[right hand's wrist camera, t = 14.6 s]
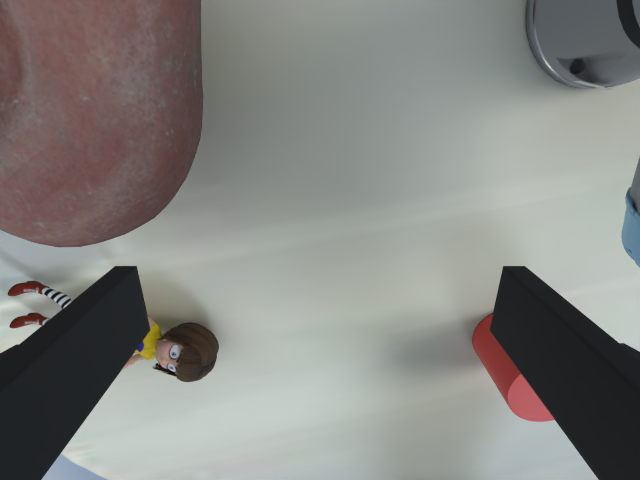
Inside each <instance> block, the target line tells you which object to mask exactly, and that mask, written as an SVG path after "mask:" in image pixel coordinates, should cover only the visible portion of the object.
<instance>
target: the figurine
mask: <svg viewBox="0 0 640 480" xmlns="http://www.w3.org/2000/svg"><path fill="white" fill-rule="evenodd" d="M28 292H36V293H37V294H38V293H40V294H45V295H46V296H48V297H49V298H51V299H53V300H54V301H56V302H57V303H58V304H59V305H60V306H61V307H62V309H64V308H65V307H66V306H67V305H68V304H70V303H71V302H72V301H71V299H70V298H69V297H68V296H67V295H65V294H64V293H61V292H59V291H56V290H53V289H50V288H49V287H47V286H44V285H42V284H41V283H39V282H37V281H28V282H27V283H20V284H16V285H14V286H13V287H12V288H11V289H10V290H9V292H8V295H9V296H16V295H19V294H23V293H28ZM147 316H148V314H147ZM49 320H50V319H49V318H46V317H43V316H42V315H41V314H39V313H29V314H28V315H27V316H21V317H17V318H15V319H14V320H13V321H12V322H11V324H10V328H18V327H22V326H25V325H29V324H38V325H44V324H45V323H46V322H48V321H49ZM148 321H149V325H150V332H149V333H148V334H147V336H146V337H145V339H144V340H143V341H142V343H141V344H140V345H139V347H138V348H137V349H136V351H135V353H139V354H136V355H134V356H131V358H130V359H129V360H128V362H127V363H126V365H125V366H124V367H123V369H125V368H126V367H128V366H130V365H132V364H134V363H135V362H136V361H138V360H142V359H147V360H150V359H152V358H154V357H156V359H157V361H158V362H159V363H160V364H158V363H157V364H155V366H156V367H157V366H158V367H159V368H158V367H157V368H156V367H155V366H154V367H155V369H157V370H162V371H164V372H166V374H169V375H173V376H177V379H179V380H181V381H183V382H184V381H185V382H192V381H197V380H199V379H201V378H203V377H204V376H206V375H207V374H208V373H209V372H210V371H211V370H212V369H213V367H214V365H215V362H216V358H217V352H218V349H219V344H218V341H217V339H216V337H215V336H214V334H213V333H212V332H211V331H210V330H208V329H207V328H205V327H203V326H201V325H199V324H196V323H183V324H182V325H181V324H180V325H179V326H176V327H174V330H173V328H171V330H169V331H167V332H165V333H166V334H165V335H164V336H162V334H161V330H160V328H159V326H158V324H157V323H156V322H154V321H153V320H152V319H151V318H150V317H149V316H148ZM174 332H175V333H174ZM163 339H165V340H167V339H168V341H166V342H165V341H164V340H163ZM123 369H122V370H123ZM122 370H121V371H122ZM164 372H163V373H164ZM167 372H168V373H167ZM178 377H179V378H178Z"/></svg>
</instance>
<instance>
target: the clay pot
mask: <svg viewBox="0 0 640 480" xmlns="http://www.w3.org/2000/svg"><path fill="white" fill-rule="evenodd" d="M202 110H203V89H202V66H201V0H0V230H2V231H4V232H7V233H9V234H12V235H14V236H17V237H20V238H23V239H25V240H28V241H31V242H34V243H39V244H44V245H49V246H55V247H81V246H86V245H90V244H95V243H99V242H103V241H106V240H109V239H112V238H115V237H118V236H121V235H124V234H126V233H128V232H130V231H132V230H134V229H136V228H138V227H139V226H141V225H143V224H145V223H146V222H148V221H150V220H152V219H153V218H155V217H156V216H157V215H158V214H159V213H160V212H161V211H162V210H163V209H164V208H165V207H166V206H167V205H168V204H169V202H170V201H171V200H172V199H173V197H174V196H175V194H176V193H177V191H178V190H179V188H180V187H181V185H182V184H183V182H184V180H185V179H186V177H187V175H188V172H189V170H190V167H191V165H192V162H193V160H194V157H195V154H196V150H197V147H198V144H199V141H200V135H201V127H202Z"/></svg>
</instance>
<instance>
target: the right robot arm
mask: <svg viewBox="0 0 640 480" xmlns="http://www.w3.org/2000/svg"><path fill="white" fill-rule="evenodd" d="M526 27H527V35H528V40H529V44H530V47H531V50H532V52H533V54H534V56H535V58H536V60H537V62H538V63H539V65H540V66H541V67H542V68H543V70H544V71H545V72H546V73H547V74H549V75H550V76H551V77H552V78H554V79H555V80H557V81H559V82H561V83H563V84H565V85H569V86H572V87H577V88H599V89H603V90H613V89H609V88H606V87H612V86H616V85H620V84H624V83H628V82H631V81H634V80H636V79H639V78H640V0H528V3H527V12H526ZM625 199H626V205H627V207H626V213H625V219H624V224H623V229H622V243H623V246H624V249H625V250H626V252H627V253H628V255H629V256H630V257H631V258H632V259H633V260H634V261H635V262H636V264H637V265H638V266H639V267H640V157H639V161H638V165H637V169H636V172H635V175H634V179H633V182H632V186H631V187H630V188H629V189H628V191H627V194H626V197H625ZM149 332H150V325H149V321H148V316H147V311H146V307H145V302H144V298H143V293H142V289H141V284H140V279H139V275H138V270H137V266H115V267H114V268H112V269H111V270H110V271H109V272H108V273H106V274H105V275H104V276H103V277H101V278H100V279H99V280H98V281H97V282H95V283H94V284H93V285H92V286H90V287H89V288H88V289H87V290H86V291H84V292H83V293H82V294H81V295H79V296H78V297H77V298H76V299H75V300H73V301H72V302H71V303H70V304H68V305H67V306H66V307H65V308H64V309H62V310H61V311H60V312H59V313H57V314H56V315H55V316H54V317H53V318H51V319H50V320H49V321H48V322H46V323H45V324H44V325H43V326H42V327H40V328H39V329H38V330H37V331H35V332H34V333H33V334H32V335H30V336H29V337H28V338H27V339H26V340H24V341H23V342H22V343H21V344H19V345H15V346H13V347H11V348H9V349H8V350H6V351H4V352H2V353H0V480H41V479H42V478H43V476H44V475H45V474H46V472H47V471H48V470H49V468H50V467H51V466H52V464H53V463H54V461H55V460H56V459H57V457H58V456H59V455H60V453H61V452H62V451H63V449H64V448H65V446H66V445H67V444H68V442H69V441H70V440H71V438H72V437H73V436H74V434H75V433H76V431H77V430H78V429H79V427H80V426H81V425H82V423H83V422H84V421H85V419H86V418H87V416H88V415H89V414H90V412H91V411H92V410H93V408H94V407H95V406H96V404H97V403H98V401H99V400H100V399H101V397H102V396H103V395H104V393H105V392H106V390H107V389H108V388H109V386H110V385H111V384H112V382H113V381H114V380H115V378H116V377H117V375H118V374H119V373H120V371H121V370H122V369H123V367H124V366H125V365H126V363H127V362H128V360H129V359H130V358H131V356H132V355H133V354H134V352H135V351H136V349H137V348H138V347H139V345H140V344H141V343H142V341H143V340H144V339H145V337H146V336H147V334H148V333H149ZM490 332H491V333H492V334H493V336H494V337H495V339H496V340H497V341H498V343H499V344H500V345H501V347H502V348H503V349H504V351H505V352H506V354H507V355H508V356H509V358H510V359H511V360H512V362H513V363H514V365H515V366H516V367H517V369H518V370H519V371H520V373H521V374H522V375H523V377H524V378H525V380H526V381H527V382H528V384H529V385H530V386H531V388H532V389H533V390H534V392H535V393H536V395H537V396H538V397H539V399H540V400H541V401H542V403H543V404H544V406H545V407H546V408H547V410H548V411H549V412H550V414H551V415H552V416H553V418H554V419H555V421H556V422H557V423H558V425H559V426H560V427H561V429H562V430H563V431H564V433H565V434H566V436H567V437H568V438H569V440H570V441H571V442H572V444H573V445H574V446H575V448H576V449H577V451H578V452H579V453H580V455H581V456H582V457H583V459H584V460H585V462H586V463H587V464H588V466H589V467H590V468H591V470H592V471H593V472H594V474H595V475H596V477H597V478H598V479H599V480H640V352H639V351H637V350H635V349H633V348H631V347H630V346H628V345H626V344H624V343H618V342H617V341H616V340H614V339H613V338H612V337H611V336H610V335H608V334H607V333H606V332H605V331H603V330H602V329H601V328H600V327H598V326H597V325H596V324H595V323H594V322H592V321H591V320H590V319H589V318H587V317H586V316H585V315H584V314H583V313H581V312H580V311H579V310H578V309H576V308H575V307H574V306H573V305H572V304H570V303H569V302H568V301H567V300H565V299H564V298H563V297H562V296H561V295H559V294H558V293H557V292H556V291H554V290H553V289H552V288H551V287H550V286H548V285H547V284H546V283H545V282H543V281H542V280H541V279H540V278H539V277H537V276H536V275H535V274H534V273H532V272H531V271H530V270H529V269H528V268H526V267H525V266H503V270H502V275H501V279H500V284H499V289H498V293H497V298H496V302H495V307H494V311H493V316H492V321H491V325H490Z"/></svg>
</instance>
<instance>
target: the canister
mask: <svg viewBox="0 0 640 480" xmlns="http://www.w3.org/2000/svg"><path fill="white" fill-rule="evenodd" d="M492 316H493V313H492V314H490V315H489V316H487V317H486V318H484V319H483V320H482V321H481V322H480V323H479V324H478V326H477V327H476V329H475V331H474V334H473V340H472V342H473V347H474V349H475V351H476V353H477V355H478V356H479V358H480V360H481V361H482V363H483V365H484V366H485V368H486V370H487V371H488V373H489V374H490V376H491V378H492V379H493V381H494V383H495V384H496V386H497V388H498V389H499V391H500V393H501V394H502V396H503V398H504V399H505V401H506V403H507V404H508V406H509V407H510V409H511V410H512V412H513V413H514V414H516V415H517V416H519V417H520V418H523V419H525V420H529V421H536V422H543V421H551V420H555V419H554V418H553V416H552V415H551V414H550V412H549V411H548V410H547V408H546V407H545V406H544V404H543V403H542V401H541V400H540V399H539V397H538V396H537V395H536V393H535V392H534V390H533V389H532V388H531V386H530V385H529V384H528V382H527V381H526V380H525V378H524V377H523V375H522V374H521V373H520V371H519V370H518V369H517V367H516V366H515V365H514V363H513V362H512V360H511V359H510V358H509V356H508V355H507V354H506V352H505V351H504V349H503V348H502V347H501V345H500V344H499V343H498V341H497V340H496V339H495V337H494V336H493V334H492V333H491V332H490V325H491V321H492Z"/></svg>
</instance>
